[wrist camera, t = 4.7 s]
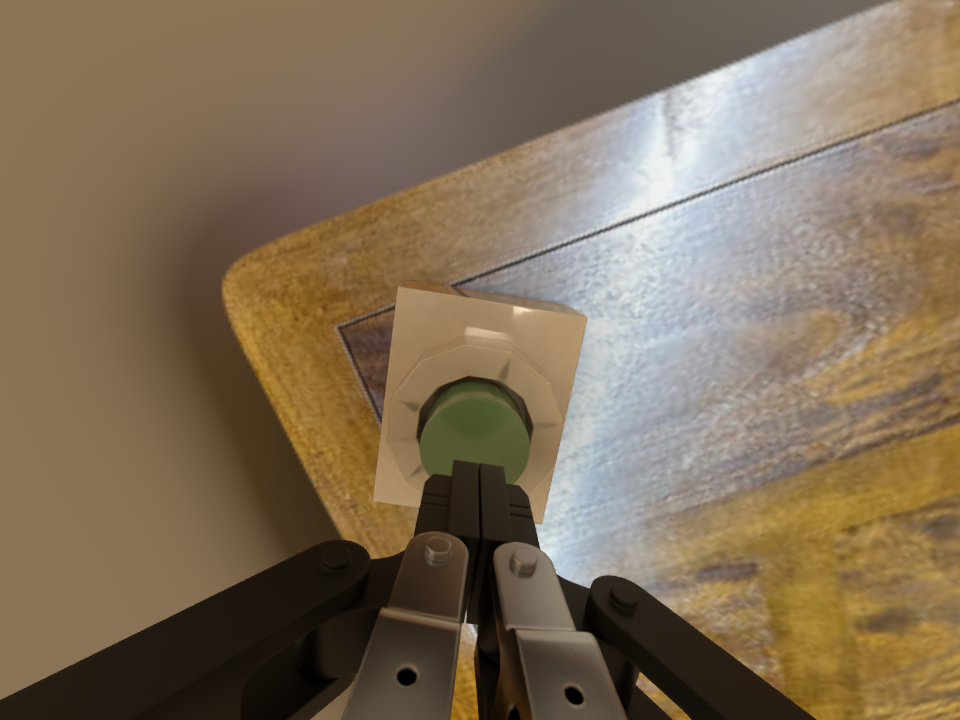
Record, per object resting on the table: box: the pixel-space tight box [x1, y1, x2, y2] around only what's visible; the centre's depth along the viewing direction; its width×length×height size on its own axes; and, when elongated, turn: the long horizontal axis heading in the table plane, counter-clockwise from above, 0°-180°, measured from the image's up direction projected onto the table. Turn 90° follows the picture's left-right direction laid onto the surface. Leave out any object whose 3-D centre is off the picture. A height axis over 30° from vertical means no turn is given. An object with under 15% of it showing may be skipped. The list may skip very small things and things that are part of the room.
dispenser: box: [373, 280, 588, 524], centre depth 20 cm, size 10×8×6 cm
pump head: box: [420, 381, 530, 484], centre depth 17 cm, size 4×4×2 cm
